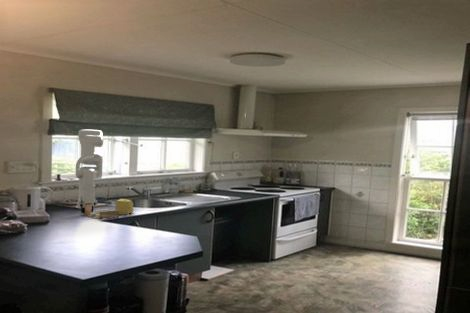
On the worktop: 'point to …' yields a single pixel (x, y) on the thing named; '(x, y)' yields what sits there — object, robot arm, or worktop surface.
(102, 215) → the lane
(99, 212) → the pusher
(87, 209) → the jar
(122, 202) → the yellow rounded block
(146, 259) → the worktop surface
